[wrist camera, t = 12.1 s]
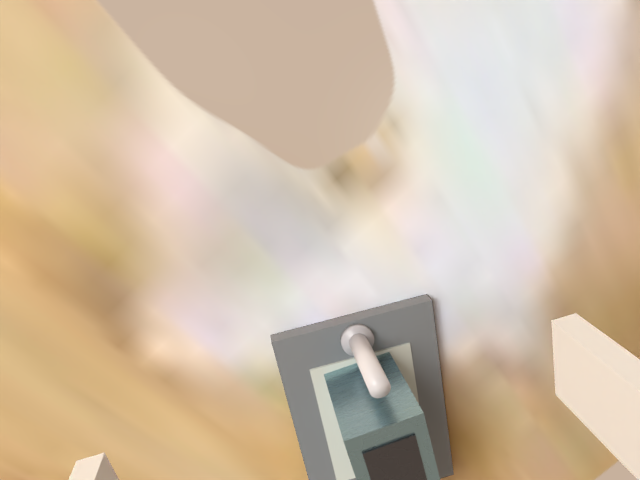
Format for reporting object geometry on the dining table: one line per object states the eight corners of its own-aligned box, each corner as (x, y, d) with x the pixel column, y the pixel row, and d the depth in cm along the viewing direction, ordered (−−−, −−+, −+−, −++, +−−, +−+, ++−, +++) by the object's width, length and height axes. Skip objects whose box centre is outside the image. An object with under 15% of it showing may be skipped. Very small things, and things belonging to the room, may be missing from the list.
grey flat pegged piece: (426, 294, 41) (470, 343, 33) (448, 465, 48) (489, 538, 40) (270, 335, 39) (278, 396, 32) (316, 504, 46) (332, 588, 39)
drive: (389, 351, 40) (424, 414, 33) (416, 453, 45) (452, 529, 37) (323, 374, 40) (343, 443, 32) (357, 474, 44) (382, 556, 37)
